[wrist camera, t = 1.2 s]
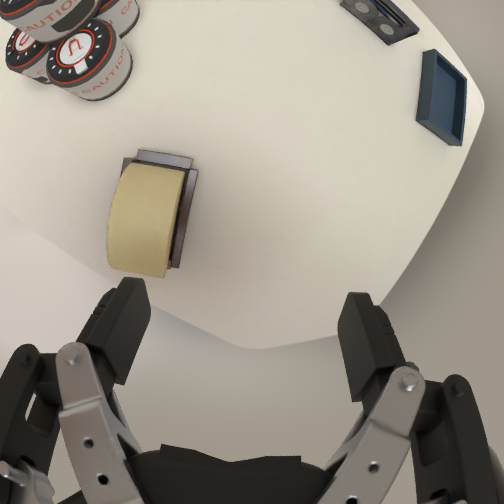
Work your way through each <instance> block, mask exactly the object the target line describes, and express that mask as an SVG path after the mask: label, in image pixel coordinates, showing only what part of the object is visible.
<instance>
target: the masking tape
mask: <svg viewBox="0 0 504 504" xmlns="http://www.w3.org/2000/svg"><path fill="white" fill-rule="evenodd" d="M184 176H185V172H184V171H178V170H173V169H168V168H162V167H156V166H151V165H145V164H138V163H131V164H129V165H128V166H127V167H126V169H125V170H124V172H123V174H122V176H121V178H120V180H119V182H118V185H117V188H116V190H115V193H114V197H113V200H112V204H111V209H110V214H109V220H108V227H107V257H108V262H109V265H110V266H111V268H113V269H117V270H122V271H127V272H132V273H138V274H143V275H148V276H154V277H159V278H164V277H165V274H166V270H167V265H168V260H169V255H170V250H171V245H172V240H173V235H174V230H175V225H176V219H177V214H178V209H179V204H180V199H181V193H182V188H183V183H184Z"/></svg>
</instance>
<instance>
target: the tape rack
mask: <svg viewBox="0 0 504 504" xmlns="http://www.w3.org/2000/svg"><path fill="white" fill-rule="evenodd" d="M192 160H193V159H191V158H186V157H181V156H176V155H170V154H165V153H159V152H153V151H147V150H141V149H139V150H138V153H137V158H124V160H123V165H122V171H121V176H122V174H123V172H124V170H125V169H126V167H127V166H128V165H129V164H131V163H138V164H140V161H146V162H152V163H158V164H164V165H169V166H175V167H180V168H185V169H189V173H188V177H187V182H186V186H185V191H184V195H183V200H182V205H181V210H180V215H179V220H178V225H177V231H176V236H175V242H174V248H173V254H170V255H169V260H168V265H167V269H171V267H173V268H179V265H180V259H181V253H182V247H183V242H184V237H185V231H186V226H187V221H188V216H189V212H190V207H191V202H192V197H193V193H194V188H195V184H196V180H197V175H198V169H194V168H191V164H192ZM121 176H120V178H121Z"/></svg>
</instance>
